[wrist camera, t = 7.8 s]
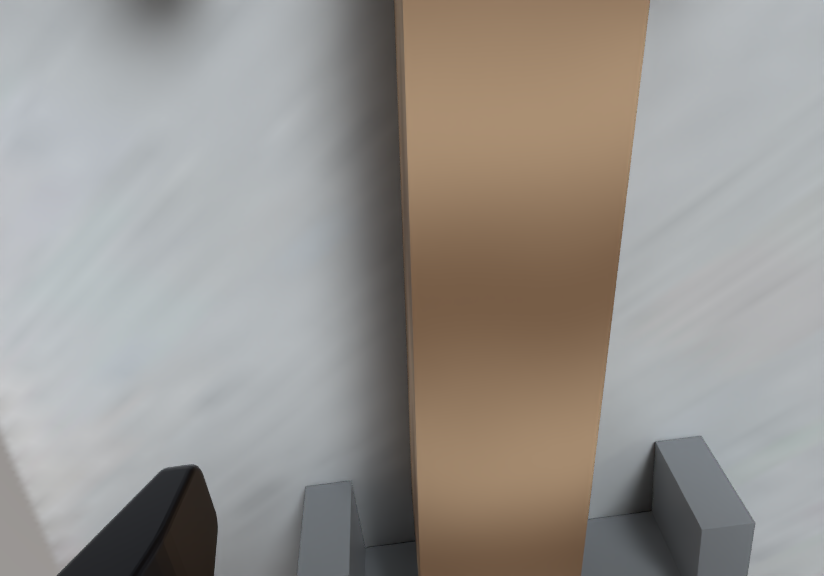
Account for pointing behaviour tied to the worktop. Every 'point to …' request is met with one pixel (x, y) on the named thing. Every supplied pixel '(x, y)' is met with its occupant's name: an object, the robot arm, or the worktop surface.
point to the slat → (510, 267)
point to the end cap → (605, 537)
